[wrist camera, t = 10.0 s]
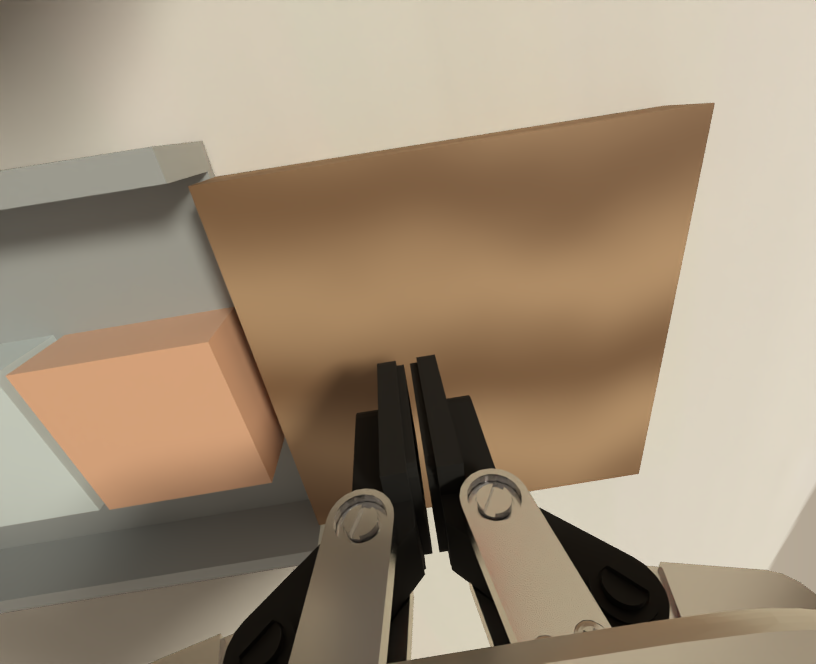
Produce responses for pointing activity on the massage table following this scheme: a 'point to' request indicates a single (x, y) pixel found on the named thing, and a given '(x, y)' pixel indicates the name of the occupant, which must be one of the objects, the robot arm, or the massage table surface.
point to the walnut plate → (469, 286)
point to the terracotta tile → (157, 407)
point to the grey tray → (114, 306)
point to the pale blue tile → (34, 454)
